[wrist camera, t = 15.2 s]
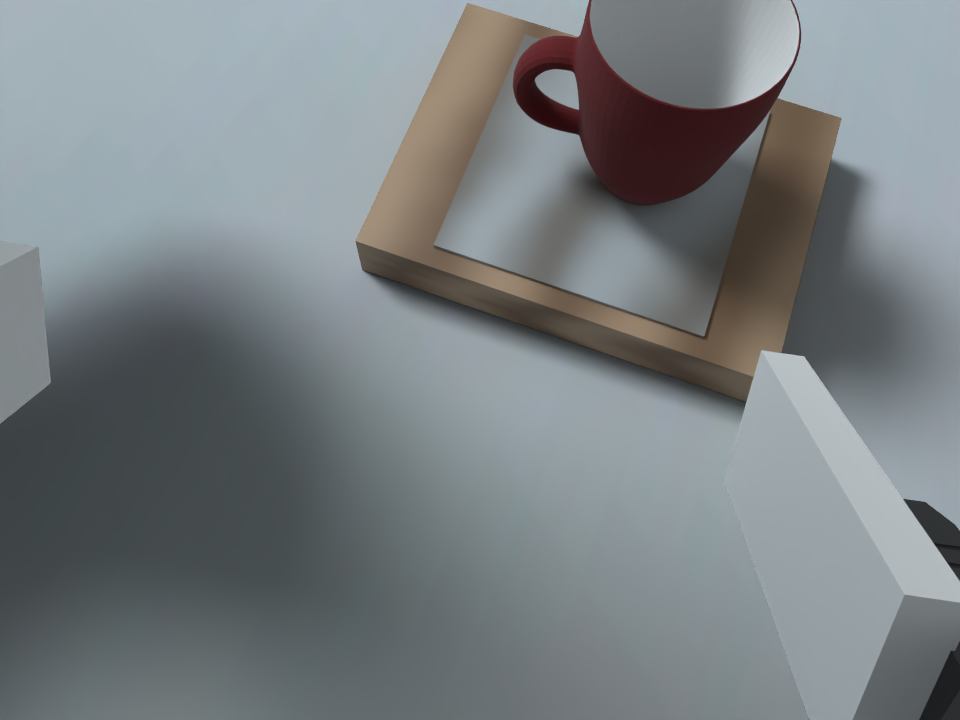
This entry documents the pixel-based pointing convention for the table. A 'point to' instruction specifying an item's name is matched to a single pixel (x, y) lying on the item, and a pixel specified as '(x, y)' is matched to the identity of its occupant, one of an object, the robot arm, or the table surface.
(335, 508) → the table surface
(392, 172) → the plinth
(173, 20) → the table surface
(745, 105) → the mug
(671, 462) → the table surface
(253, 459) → the table surface
